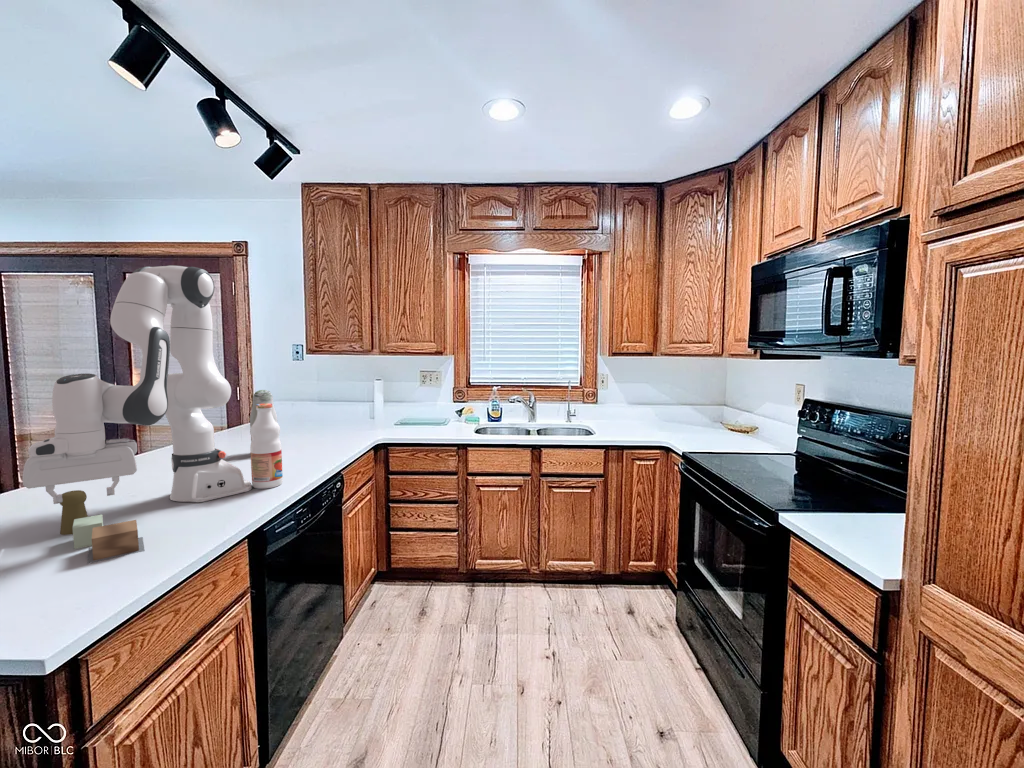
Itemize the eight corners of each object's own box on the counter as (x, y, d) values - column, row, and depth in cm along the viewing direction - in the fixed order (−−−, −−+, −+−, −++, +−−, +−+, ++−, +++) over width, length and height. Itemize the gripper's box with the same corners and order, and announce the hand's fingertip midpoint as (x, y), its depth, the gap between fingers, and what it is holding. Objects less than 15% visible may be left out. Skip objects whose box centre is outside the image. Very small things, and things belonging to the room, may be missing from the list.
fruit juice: (250, 483, 164) (247, 403, 161) (280, 479, 169) (277, 401, 166) (253, 491, 156) (249, 407, 153) (284, 486, 161) (281, 404, 158)
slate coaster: (142, 539, 118) (142, 536, 118) (144, 554, 110) (144, 550, 110) (89, 551, 111) (88, 548, 111) (87, 567, 104) (87, 563, 104)
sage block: (104, 537, 120) (102, 514, 119) (103, 546, 114) (101, 522, 114) (76, 542, 116) (74, 519, 116) (74, 552, 111) (72, 528, 110)
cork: (97, 528, 125) (94, 487, 124) (77, 538, 119) (74, 495, 118) (74, 528, 125) (70, 487, 124) (52, 538, 119) (48, 495, 117)
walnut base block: (137, 539, 116) (136, 519, 116) (139, 550, 110) (137, 529, 110) (94, 548, 111) (92, 527, 111) (93, 560, 105) (91, 538, 105)
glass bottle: (246, 455, 203) (243, 390, 200) (268, 450, 212) (266, 388, 209) (261, 457, 198) (258, 391, 196) (283, 452, 208) (280, 389, 205)
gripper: (136, 435, 122) (139, 487, 123) (22, 445, 109) (27, 504, 110) (137, 439, 117) (140, 493, 118) (18, 450, 104) (23, 511, 105)
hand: (85, 498), depth 114 cm, fingers open, 8 cm apart
